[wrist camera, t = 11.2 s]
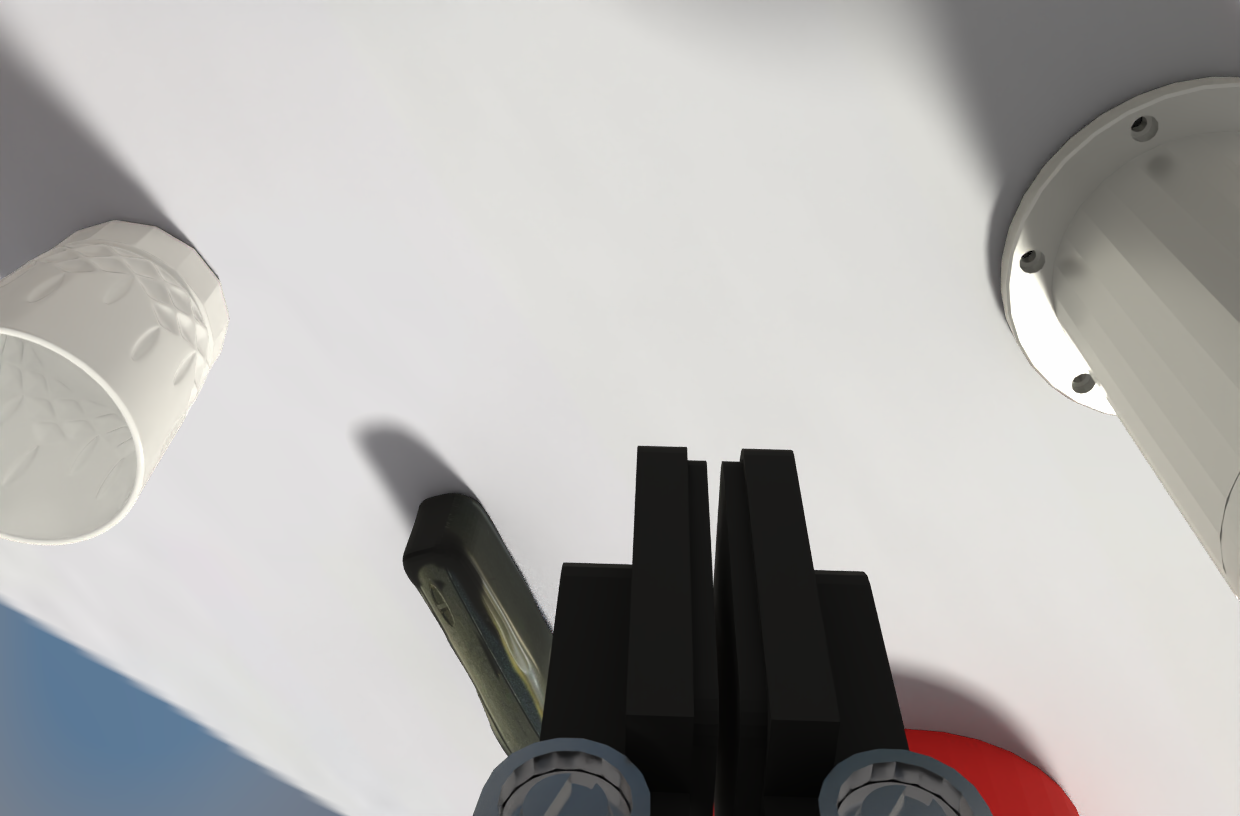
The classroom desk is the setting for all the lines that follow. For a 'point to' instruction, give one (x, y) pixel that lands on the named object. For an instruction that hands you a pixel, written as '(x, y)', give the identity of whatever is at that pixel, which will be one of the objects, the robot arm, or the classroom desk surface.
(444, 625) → the mobile phone
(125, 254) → the white cup
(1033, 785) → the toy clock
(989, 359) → the classroom desk surface
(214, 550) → the classroom desk surface
